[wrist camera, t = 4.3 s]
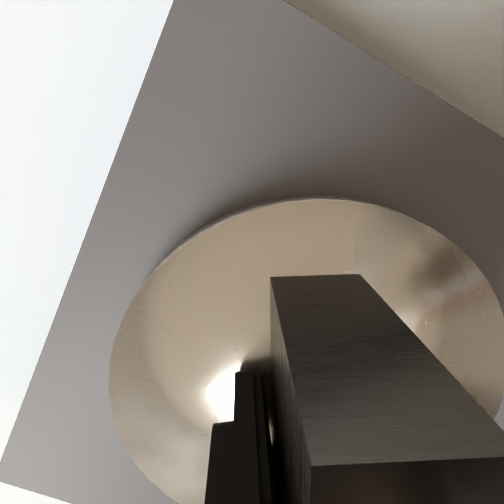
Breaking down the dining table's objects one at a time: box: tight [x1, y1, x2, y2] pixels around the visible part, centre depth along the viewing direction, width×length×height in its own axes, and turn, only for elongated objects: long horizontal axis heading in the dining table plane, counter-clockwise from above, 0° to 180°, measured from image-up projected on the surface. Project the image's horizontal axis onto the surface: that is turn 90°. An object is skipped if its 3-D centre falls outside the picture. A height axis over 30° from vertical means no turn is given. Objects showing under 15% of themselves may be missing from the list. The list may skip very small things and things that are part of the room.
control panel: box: [0, 0, 504, 504], centre depth 13 cm, size 18×16×3 cm
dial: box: [108, 195, 504, 504], centre depth 8 cm, size 12×12×6 cm
